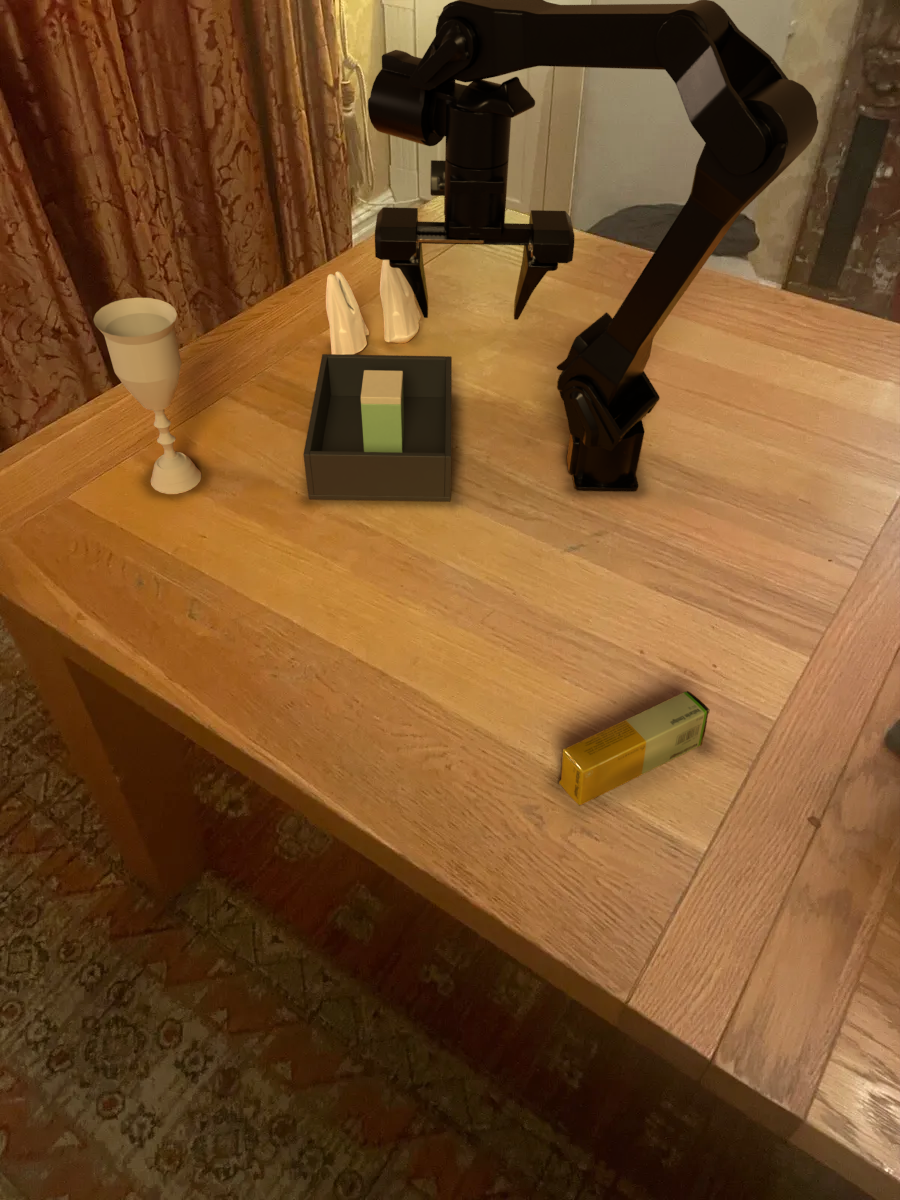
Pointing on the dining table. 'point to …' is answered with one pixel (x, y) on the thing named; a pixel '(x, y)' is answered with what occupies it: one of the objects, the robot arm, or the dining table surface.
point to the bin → (339, 434)
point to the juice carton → (382, 411)
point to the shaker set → (348, 320)
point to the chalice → (150, 375)
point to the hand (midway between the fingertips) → (470, 316)
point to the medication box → (633, 747)
